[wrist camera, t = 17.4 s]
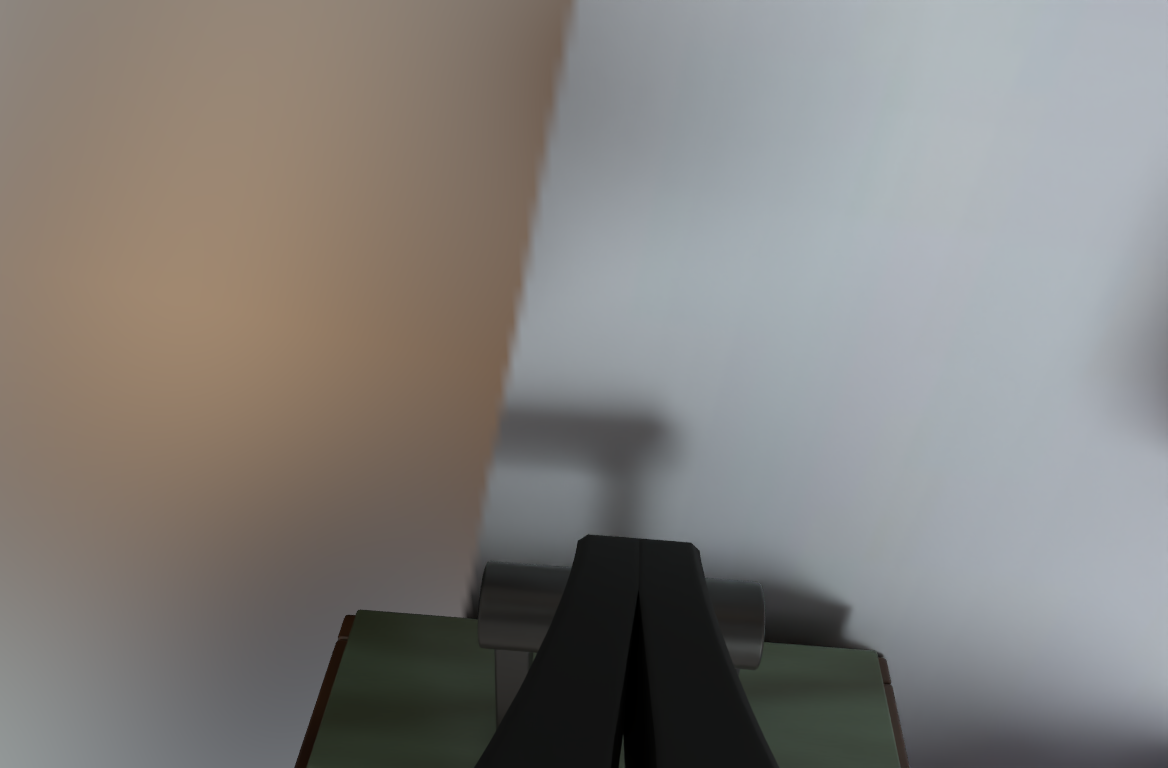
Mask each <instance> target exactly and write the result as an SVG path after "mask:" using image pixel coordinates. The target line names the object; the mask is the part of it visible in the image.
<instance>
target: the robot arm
mask: <svg viewBox="0 0 1168 768" xmlns="http://www.w3.org/2000/svg"><path fill="white" fill-rule="evenodd" d="M623 737H624V763H625V768H779V766H778V764H777V762H776V760H775V758H774V755H773V753H772V751H771V749H770V747H769V745H768V743H767V741H766V739H765V737H764V735H763V733H762V730H761V728H760V726H759V724H758V721H757V719H756V717H755V715H754V713H753V710H752V708H751V706H750V703H749V701H748V698H747V696H746V693H745V691H744V689H743V686H742V684H741V681H740V679H739V677H738V674H737V672H736V669H735V667H734V664H733V662H732V659H731V657H730V654H729V651H728V649H727V646H726V643H725V641H724V638H723V635H722V632H721V629H720V626H719V623H718V620H717V617H716V614H715V611H714V608H713V605H712V601H711V598H710V595H709V591H708V588H707V584H706V580H705V576H704V572H703V567H702V563H701V557H700V551H699V550H698V549H697V548H696V547H695V546H694V545H693V544H692V543H689V542H676V541H663V540H651V539H638V538H626V537H613V536H600V535H586V536H585V537H583V538H582V539H580V540H578V543H577V548H576V553H575V558H574V562H573V565H572V568H571V572H570V575H569V578H568V581H567V584H566V587H565V590H564V592H563V595H562V598H561V600H560V603H559V605H558V608H557V610H556V612H555V615H554V617H553V620H552V622H551V625H550V627H549V629H548V631H547V633H546V635H545V638H544V640H543V642H542V644H541V646H540V648H539V650H538V652H537V654H536V656H535V659H534V661H533V663H532V665H531V667H530V669H529V671H528V673H527V675H526V677H525V679H524V681H523V683H522V685H521V687H520V689H519V691H518V692H517V694H516V696H515V698H514V700H513V701H512V703H511V705H510V707H509V708H508V710H507V712H506V714H505V716H504V717H503V719H502V721H501V723H500V725H499V726H498V728H497V730H496V732H495V733H494V735H493V737H492V739H491V741H490V742H489V744H488V746H487V747H486V749H485V751H484V752H483V754H482V755H481V757H480V759H479V760H478V762H477V764H476V765H475V767H474V768H619V761H620V754H621V747H622V740H623Z"/></svg>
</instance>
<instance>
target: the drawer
mask: <svg viewBox="0 0 1168 768" xmlns="http://www.w3.org/2000/svg"><path fill="white" fill-rule="evenodd" d="M571 568H572V567H559V566H546V565H533V564H521V563H508V562H495V561H490V562H488V563H487V565H486V567H485V570H484V574H483V579H482V585H481V591H480V600H479V610H478V619H471V618H458V617H445V616H432V615H420V614H408V613H395V612H383V611H370V610H358V611H357V613H356V616H355V619H354V622H353V625H352V628H351V631H350V634H349V638H348V641H347V644H346V647H345V650H344V653H343V656H342V659H341V662H340V665H339V668H338V672H337V675H336V678H335V681H334V684H333V687H332V690H331V693H330V696H329V699H328V703H327V706H326V709H325V712H324V715H323V718H322V721H321V724H320V727H319V730H318V733H317V737H316V740H315V743H314V746H313V749H312V752H311V755H310V758H309V761H308V764H307V768H474V767H475V765H476V764H477V762H478V760H479V759H480V757H481V755H482V754H483V752H484V751H485V749H486V747H487V746H488V744H489V742H490V741H491V739H492V737H493V735H494V733H495V732H496V730H497V728H498V726H499V725H500V723H501V721H502V719H503V717H504V716H505V714H506V712H507V710H508V708H509V707H510V705H511V703H512V701H513V700H514V698H515V696H516V694H517V692H518V691H519V689H520V687H521V685H522V683H523V681H524V679H525V677H526V675H527V673H528V671H529V669H530V667H531V665H532V663H533V661H534V659H535V656H536V654H537V652H538V650H539V648H540V646H541V644H542V642H543V640H544V638H545V635H546V633H547V631H548V629H549V627H550V625H551V622H552V620H553V617H554V615H555V612H556V610H557V608H558V605H559V603H560V600H561V598H562V595H563V592H564V590H565V587H566V584H567V581H568V578H569V575H570V572H571ZM705 580H706V584H707V588H708V591H709V595H710V598H711V601H712V605H713V608H714V611H715V614H716V617H717V620H718V623H719V626H720V629H721V632H722V635H723V638H724V641H725V643H726V646H727V649H728V651H729V654H730V657H731V659H732V662H733V664H734V667H735V669H736V672H737V674H738V677H739V679H740V681H741V684H742V686H743V689H744V691H745V693H746V696H747V698H748V701H749V703H750V706H751V708H752V710H753V713H754V715H755V717H756V719H757V721H758V724H759V726H760V728H761V730H762V733H763V735H764V737H765V739H766V741H767V743H768V745H769V747H770V749H771V751H772V753H773V755H774V758H775V760H776V762H777V764H778V766H779V768H901V767H900V762H899V757H898V752H897V747H896V742H895V738H894V733H893V728H892V723H891V718H890V713H889V708H888V704H887V699H886V694H885V689H884V684H883V679H882V674H881V670H880V665H879V660H878V655H877V652H876V651H871V650H858V649H846V648H833V647H821V646H808V645H796V644H783V643H771V642H764V636H765V600H764V592H763V588H762V586H761V584H760V583H758V582H751V581H738V580H726V579H713V578H705ZM619 768H625V763H624V737H623V740H622V747H621V754H620V761H619Z"/></svg>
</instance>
